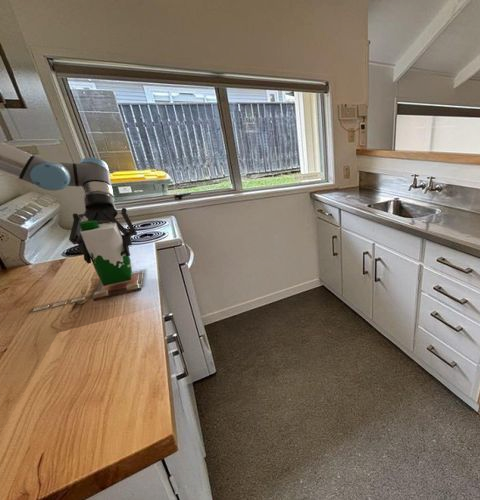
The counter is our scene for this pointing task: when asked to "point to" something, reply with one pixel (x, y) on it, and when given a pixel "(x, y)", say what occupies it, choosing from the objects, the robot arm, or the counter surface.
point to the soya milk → (106, 251)
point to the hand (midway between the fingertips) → (108, 257)
